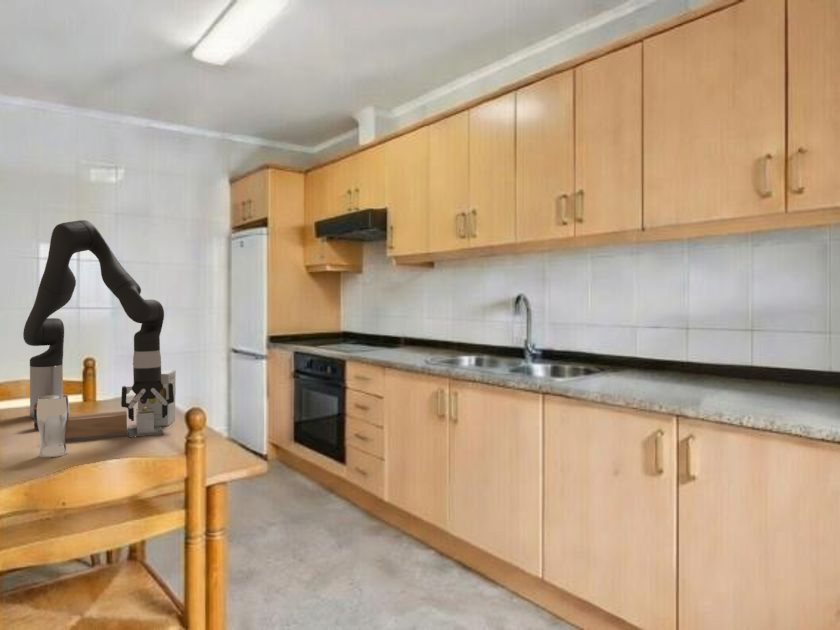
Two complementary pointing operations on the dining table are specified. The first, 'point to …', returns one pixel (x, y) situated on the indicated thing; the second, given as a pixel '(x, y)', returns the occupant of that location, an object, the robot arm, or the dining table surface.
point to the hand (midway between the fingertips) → (148, 418)
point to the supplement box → (157, 404)
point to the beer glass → (53, 424)
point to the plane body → (96, 426)
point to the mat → (133, 433)
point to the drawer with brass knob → (145, 420)
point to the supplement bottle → (35, 415)
